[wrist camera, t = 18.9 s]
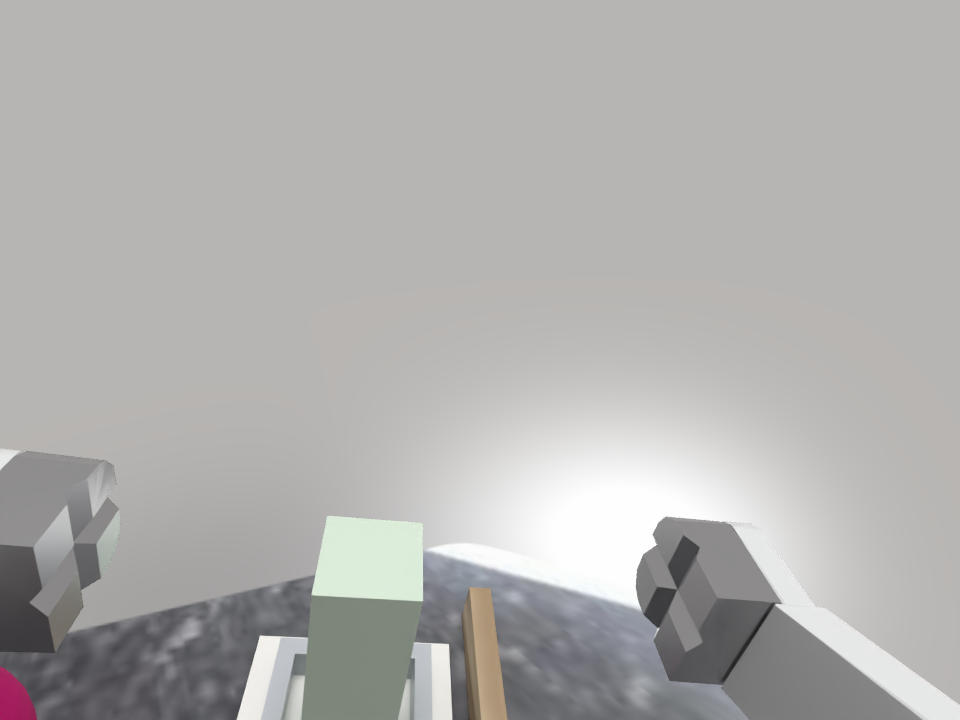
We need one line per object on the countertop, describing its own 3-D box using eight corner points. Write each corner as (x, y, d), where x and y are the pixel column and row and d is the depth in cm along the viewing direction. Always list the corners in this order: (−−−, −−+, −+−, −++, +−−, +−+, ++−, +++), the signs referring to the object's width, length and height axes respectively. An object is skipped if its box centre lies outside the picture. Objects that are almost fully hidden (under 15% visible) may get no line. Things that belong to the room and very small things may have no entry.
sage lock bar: (295, 783, 29) (311, 595, 23) (310, 696, 33) (327, 515, 27) (384, 783, 30) (422, 601, 24) (388, 699, 34) (422, 523, 28)
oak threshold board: (480, 880, 28) (492, 850, 27) (462, 616, 41) (469, 587, 40) (510, 879, 28) (523, 850, 27) (482, 617, 41) (490, 588, 40)
